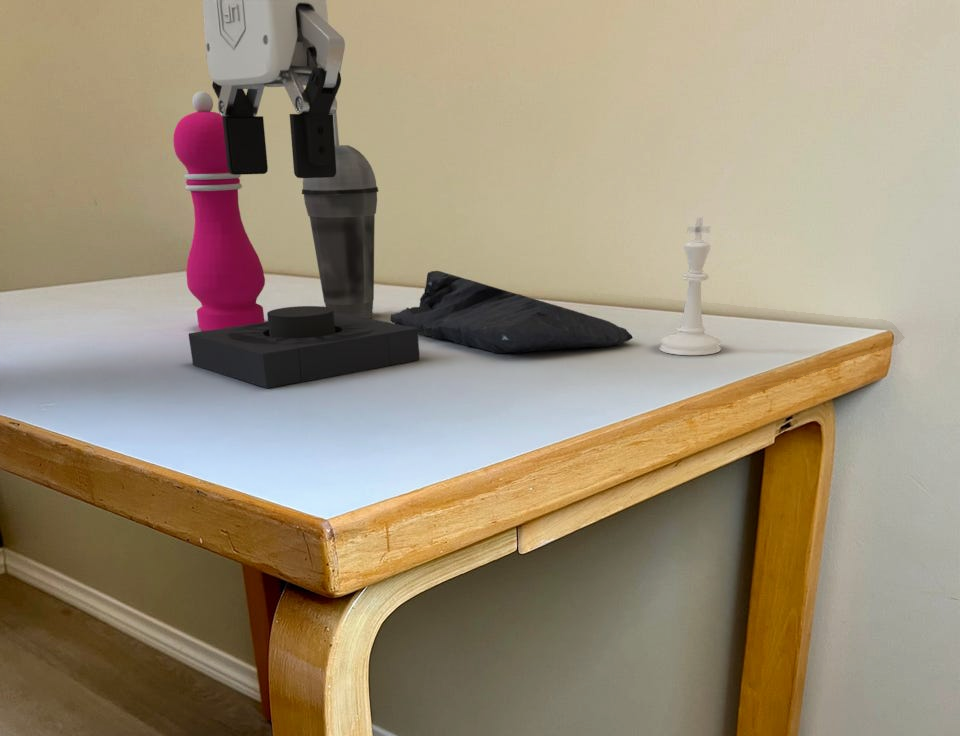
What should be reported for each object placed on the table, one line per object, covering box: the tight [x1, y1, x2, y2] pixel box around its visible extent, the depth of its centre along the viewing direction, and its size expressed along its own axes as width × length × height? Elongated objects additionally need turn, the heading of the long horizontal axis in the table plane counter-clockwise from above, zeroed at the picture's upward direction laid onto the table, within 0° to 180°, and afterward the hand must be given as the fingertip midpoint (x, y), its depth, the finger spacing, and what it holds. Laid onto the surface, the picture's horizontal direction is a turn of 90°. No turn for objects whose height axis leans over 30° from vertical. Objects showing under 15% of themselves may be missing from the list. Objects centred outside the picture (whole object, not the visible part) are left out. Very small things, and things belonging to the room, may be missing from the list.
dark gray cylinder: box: [266, 305, 335, 338], centre depth 80 cm, size 5×5×4 cm
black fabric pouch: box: [389, 270, 634, 354], centre depth 89 cm, size 15×22×5 cm
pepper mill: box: [172, 90, 266, 331], centre depth 93 cm, size 7×7×20 cm
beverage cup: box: [301, 111, 379, 319], centre depth 96 cm, size 7×7×20 cm
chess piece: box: [659, 216, 722, 356], centre depth 80 cm, size 5×5×10 cm
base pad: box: [188, 312, 420, 389], centre depth 81 cm, size 14×12×2 cm
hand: (280, 175), depth 75 cm, fingers open, 9 cm apart
